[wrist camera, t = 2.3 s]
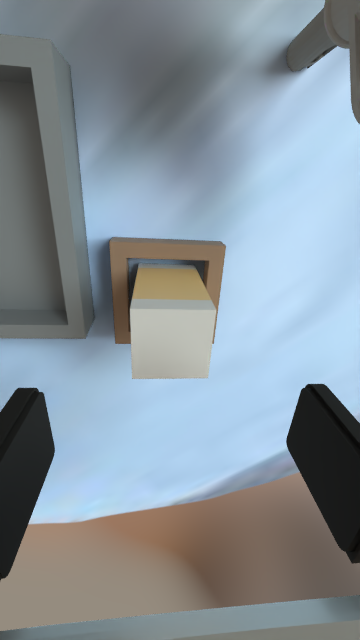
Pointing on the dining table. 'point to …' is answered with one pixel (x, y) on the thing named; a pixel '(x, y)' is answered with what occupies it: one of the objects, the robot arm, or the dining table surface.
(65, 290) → the parts tray
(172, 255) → the brown flat square frame
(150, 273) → the block
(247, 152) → the dining table surface
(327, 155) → the dining table surface
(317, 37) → the mechanical component
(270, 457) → the dining table surface
